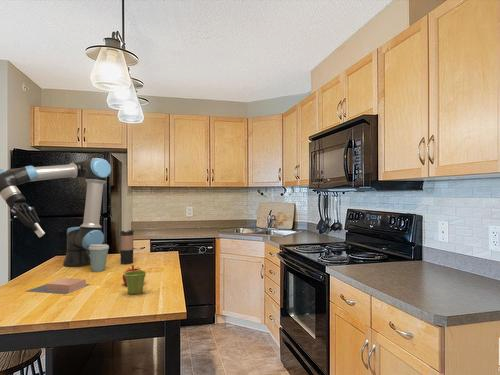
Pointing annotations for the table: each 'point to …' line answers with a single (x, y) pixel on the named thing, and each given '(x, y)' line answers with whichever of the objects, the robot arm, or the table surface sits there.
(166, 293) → the table surface
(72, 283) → the tile
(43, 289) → the mat
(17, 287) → the table surface
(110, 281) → the table surface
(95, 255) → the disposable coffee cup
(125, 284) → the pomegranate
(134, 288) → the plant pot
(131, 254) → the travel mug
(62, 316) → the table surface
